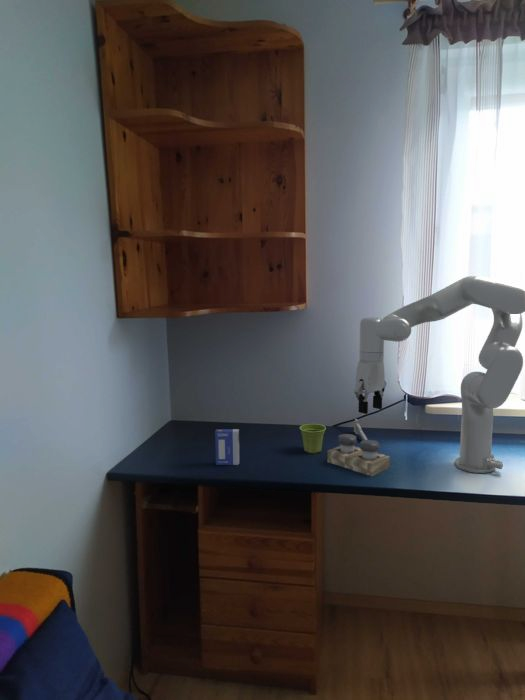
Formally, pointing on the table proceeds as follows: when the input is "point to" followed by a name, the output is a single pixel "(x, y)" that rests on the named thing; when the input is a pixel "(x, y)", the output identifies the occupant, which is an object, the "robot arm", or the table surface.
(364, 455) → the knob near
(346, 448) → the knob far
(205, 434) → the table surface
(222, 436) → the blue upright box
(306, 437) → the plant pot
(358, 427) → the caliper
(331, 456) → the mount
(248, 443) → the table surface
